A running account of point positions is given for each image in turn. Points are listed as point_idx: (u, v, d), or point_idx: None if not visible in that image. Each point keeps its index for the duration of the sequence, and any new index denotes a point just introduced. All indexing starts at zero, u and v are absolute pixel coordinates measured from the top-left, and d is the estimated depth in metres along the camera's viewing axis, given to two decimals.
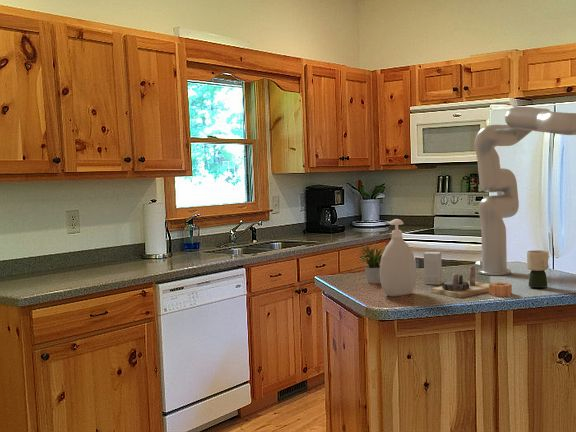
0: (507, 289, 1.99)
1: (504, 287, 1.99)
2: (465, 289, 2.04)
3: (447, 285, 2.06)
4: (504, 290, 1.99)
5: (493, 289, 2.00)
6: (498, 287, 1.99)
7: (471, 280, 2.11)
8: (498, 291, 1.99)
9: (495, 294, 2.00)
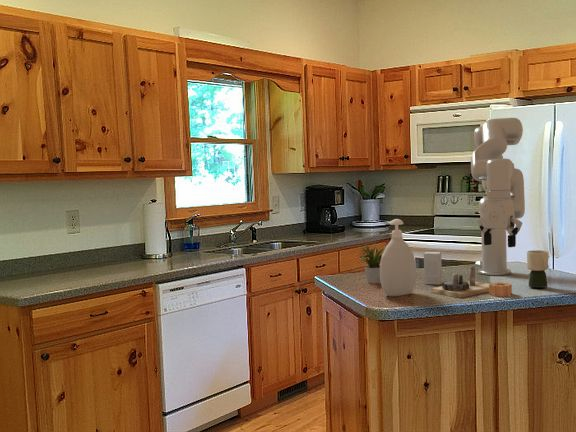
0: (507, 289, 1.99)
1: (504, 287, 1.99)
2: (465, 289, 2.04)
3: (447, 285, 2.06)
4: (504, 290, 1.99)
5: (493, 289, 2.00)
6: (498, 287, 1.99)
7: (471, 280, 2.11)
8: (498, 291, 1.99)
9: (495, 294, 2.00)
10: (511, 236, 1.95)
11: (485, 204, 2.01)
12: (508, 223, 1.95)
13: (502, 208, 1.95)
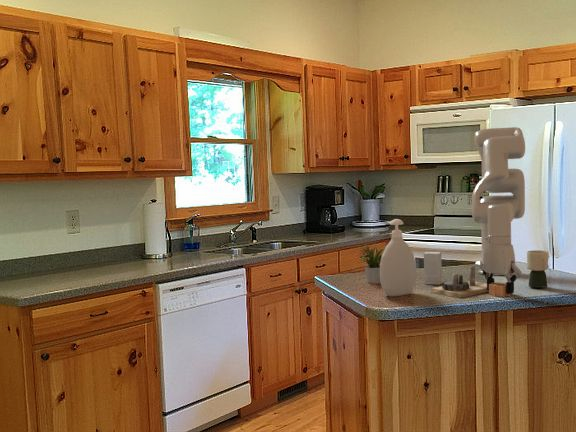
0: None
1: (504, 287, 1.99)
2: (465, 289, 2.04)
3: (447, 285, 2.06)
4: (504, 290, 1.99)
5: (493, 289, 2.00)
6: (498, 287, 1.99)
7: (471, 280, 2.11)
8: (498, 291, 1.99)
9: (495, 294, 2.00)
10: (509, 283, 1.98)
11: (486, 248, 2.03)
12: (509, 269, 1.96)
13: (503, 254, 1.97)
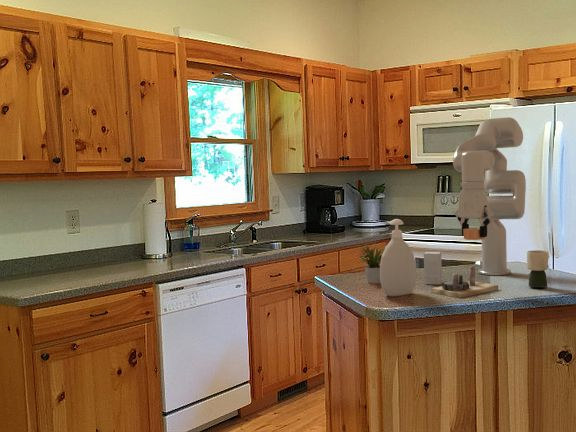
0: None
1: (478, 231, 2.07)
2: (465, 289, 2.04)
3: (447, 285, 2.06)
4: (478, 234, 2.07)
5: (467, 233, 2.08)
6: (472, 231, 2.07)
7: (471, 280, 2.11)
8: (472, 235, 2.07)
9: (469, 238, 2.08)
10: (483, 227, 2.05)
11: (460, 194, 2.10)
12: (482, 213, 2.04)
13: (476, 198, 2.05)
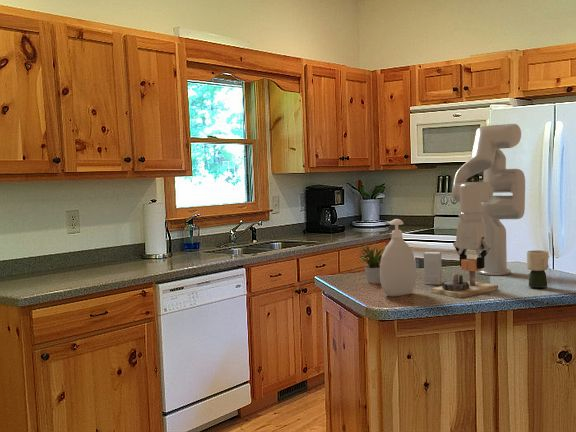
0: None
1: (475, 262, 2.08)
2: (465, 289, 2.04)
3: (447, 285, 2.06)
4: (475, 265, 2.08)
5: (465, 264, 2.09)
6: (469, 262, 2.09)
7: (471, 280, 2.11)
8: (469, 266, 2.09)
9: (466, 269, 2.09)
10: (480, 258, 2.07)
11: (458, 225, 2.12)
12: (479, 244, 2.06)
13: (474, 230, 2.06)
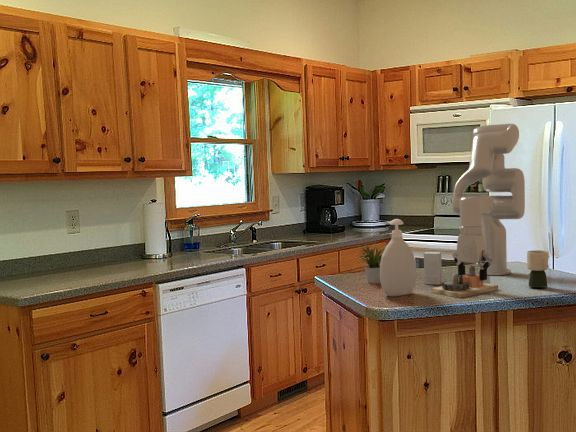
0: (478, 280, 2.09)
1: (475, 278, 2.09)
2: (465, 289, 2.04)
3: (447, 285, 2.06)
4: (475, 281, 2.09)
5: (465, 280, 2.10)
6: (470, 278, 2.09)
7: None
8: (470, 282, 2.09)
9: None
10: (482, 270, 2.07)
11: (459, 239, 2.13)
12: (480, 258, 2.06)
13: (474, 243, 2.07)
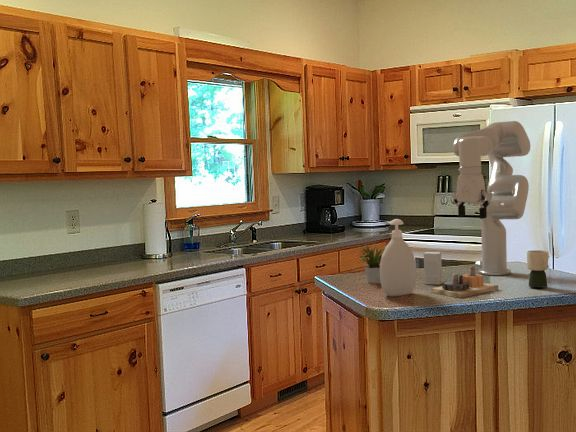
0: (478, 280, 2.09)
1: (475, 278, 2.09)
2: (465, 289, 2.04)
3: (447, 285, 2.06)
4: (475, 281, 2.09)
5: (465, 280, 2.10)
6: (470, 278, 2.09)
7: None
8: (470, 282, 2.09)
9: None
10: (482, 208, 2.13)
11: (458, 179, 2.19)
12: (479, 197, 2.13)
13: (474, 183, 2.13)
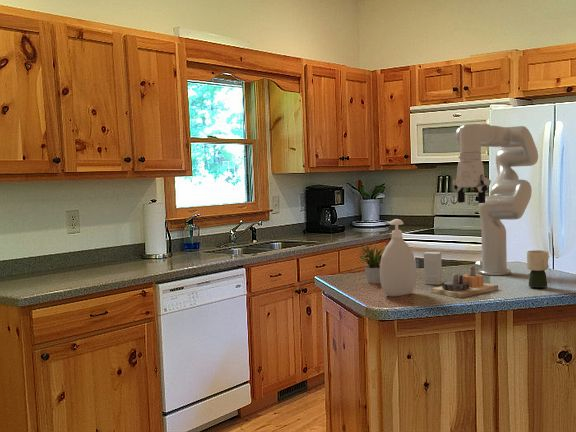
0: (478, 280, 2.09)
1: (475, 278, 2.09)
2: (465, 289, 2.04)
3: (447, 285, 2.06)
4: (475, 281, 2.09)
5: (465, 280, 2.10)
6: (470, 278, 2.09)
7: None
8: (470, 282, 2.09)
9: None
10: (481, 193, 2.18)
11: (458, 165, 2.24)
12: (478, 181, 2.18)
13: (473, 168, 2.18)
